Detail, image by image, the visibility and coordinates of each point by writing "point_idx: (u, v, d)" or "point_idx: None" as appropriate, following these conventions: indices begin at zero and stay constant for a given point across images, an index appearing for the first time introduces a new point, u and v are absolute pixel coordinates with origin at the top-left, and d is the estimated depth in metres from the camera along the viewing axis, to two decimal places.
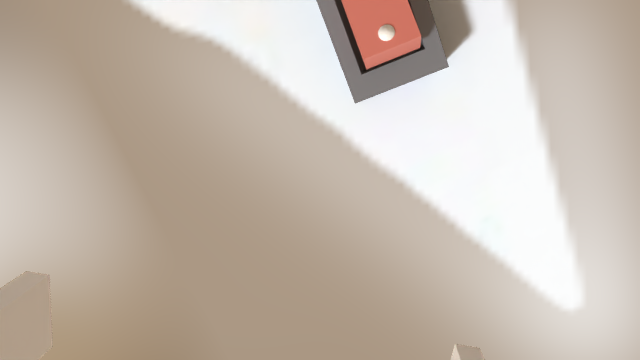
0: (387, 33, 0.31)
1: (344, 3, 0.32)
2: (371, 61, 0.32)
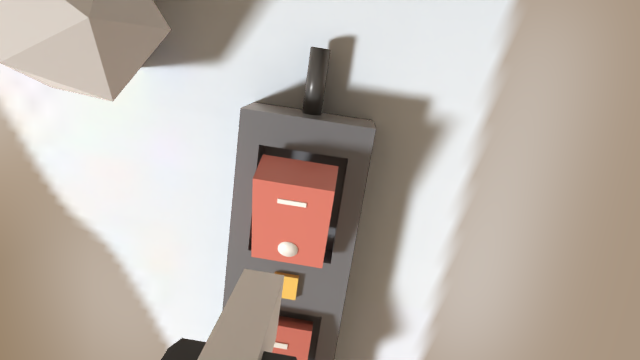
0: None
1: None
2: None
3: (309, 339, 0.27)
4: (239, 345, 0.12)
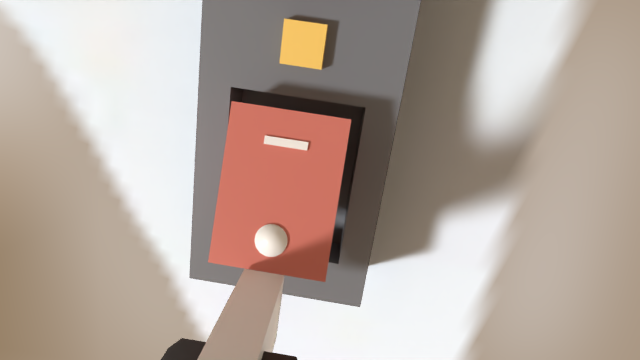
0: (271, 243, 0.15)
1: (228, 140, 0.15)
2: None
3: (347, 132, 0.15)
4: (239, 345, 0.12)
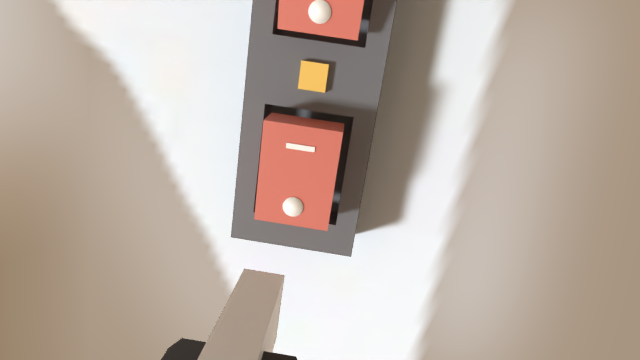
0: (293, 208, 0.25)
1: (263, 145, 0.24)
2: None
3: (340, 140, 0.23)
4: (239, 345, 0.12)
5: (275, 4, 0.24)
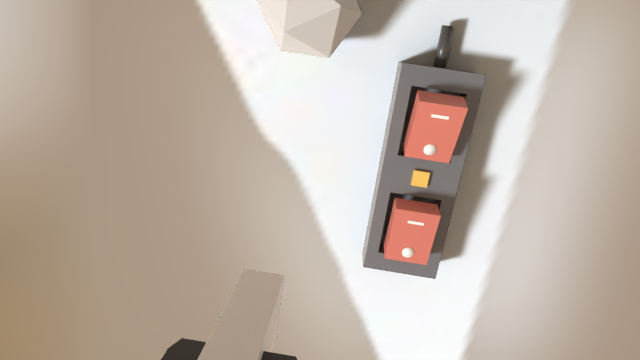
0: (408, 253, 0.44)
1: (394, 221, 0.42)
2: None
3: (439, 220, 0.42)
4: (239, 345, 0.12)
5: (400, 139, 0.43)
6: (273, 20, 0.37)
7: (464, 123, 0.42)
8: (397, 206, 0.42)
